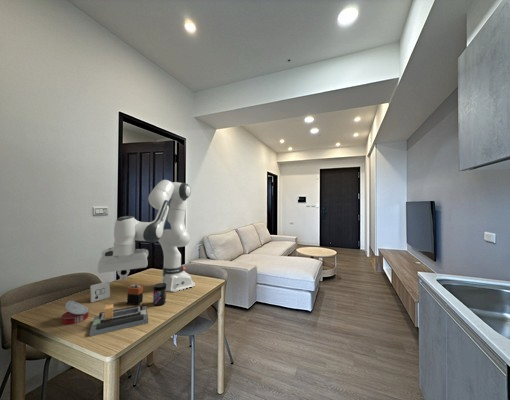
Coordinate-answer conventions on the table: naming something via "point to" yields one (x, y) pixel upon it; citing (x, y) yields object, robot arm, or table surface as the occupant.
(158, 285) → the supplement container
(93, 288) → the electrical switch
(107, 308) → the toggle
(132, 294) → the battery
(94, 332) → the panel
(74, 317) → the canned food
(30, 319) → the table surface
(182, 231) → the robot arm
